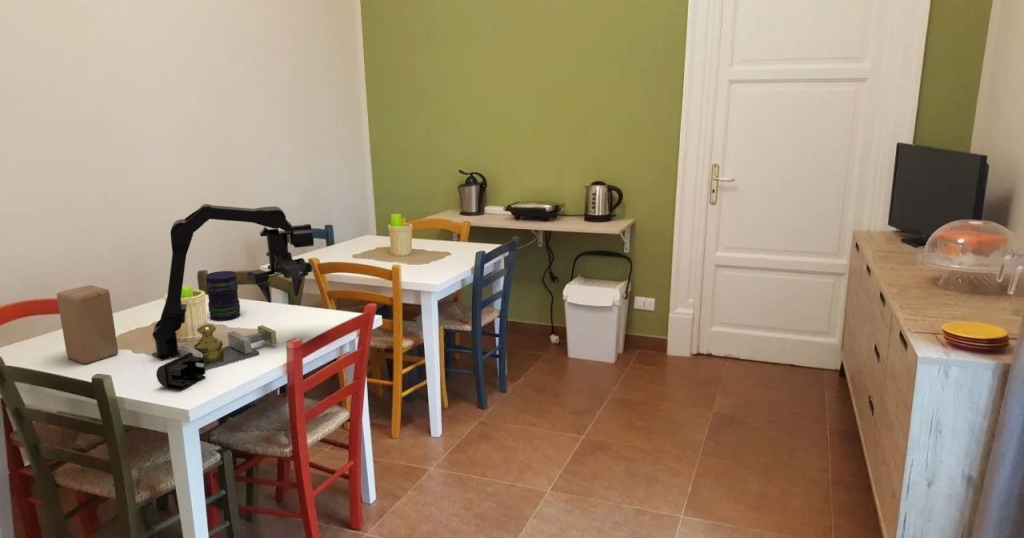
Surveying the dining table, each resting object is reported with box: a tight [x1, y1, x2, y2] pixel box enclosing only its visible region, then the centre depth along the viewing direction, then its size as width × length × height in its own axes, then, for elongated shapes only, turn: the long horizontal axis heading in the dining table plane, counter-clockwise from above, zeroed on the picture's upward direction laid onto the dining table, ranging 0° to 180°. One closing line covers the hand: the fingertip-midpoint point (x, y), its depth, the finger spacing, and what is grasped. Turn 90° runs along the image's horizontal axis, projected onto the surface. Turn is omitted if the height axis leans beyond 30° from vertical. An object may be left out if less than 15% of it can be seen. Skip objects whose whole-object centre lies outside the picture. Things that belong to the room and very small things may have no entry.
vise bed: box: [178, 344, 260, 371], centre depth 197 cm, size 11×18×5 cm, turn 138°
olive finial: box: [193, 323, 224, 362], centre depth 194 cm, size 7×7×10 cm
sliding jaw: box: [226, 324, 278, 354], centre depth 204 cm, size 10×10×4 cm
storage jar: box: [205, 270, 241, 322], centre depth 233 cm, size 10×10×15 cm
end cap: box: [155, 353, 207, 392], centre depth 181 cm, size 10×7×7 cm
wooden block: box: [56, 284, 119, 365], centre depth 197 cm, size 10×10×20 cm
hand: (282, 299), depth 210 cm, fingers open, 9 cm apart
